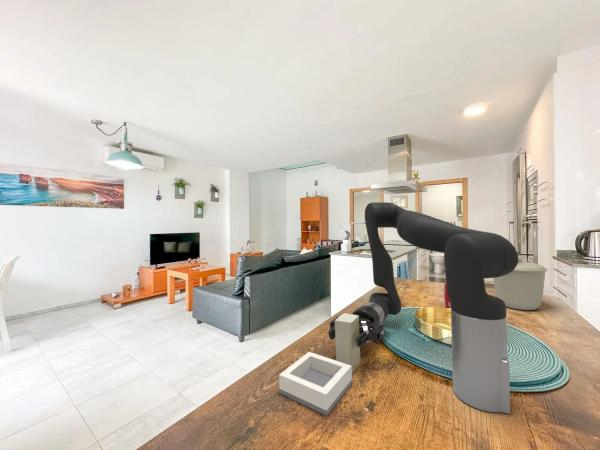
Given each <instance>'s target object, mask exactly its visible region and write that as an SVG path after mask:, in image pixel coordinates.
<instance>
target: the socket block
mask: <svg viewBox="0 0 600 450" xmlns="http://www.w3.org/2000/svg"><path fill="white" fill-rule="evenodd" d="M278 380H279V384H278V385H279V387H278V388H279V394H280V395H281V396H285V397H286V398H288V399H289V400H290V399H291V400H293V401H295V402H297V403H299V404H301V405H303V406H305V407H306V408H309V409H311V410H313V411H315V412H318V413H319V414H322V415H323V416H326V417H327V416H328V415H330V414H329V413H330V412H331V411H332V410H333V409H334V407H335V406H336V404H337V403H338V402H339V401H340V400H341V398H342V397H343V396H344V395H345V393H346V392H347V391H348V389H350V387H351V386H352V384H353V373H352V366H351V365H348V364H345V363H342V362H339V361H336V359H334V358H333V359H332V358H329V357H326V356H323V355H320V354H317V353H314V352H311V351H308V352H307V353H305V354H304V355H303V356H301V357H300V358H299V359H297V360H296V361H295V362H294V363H292V364H291V365H289V366H288V367H287V368H285V369H284V370H283V371H282V372H281V373H279V375H278Z"/></svg>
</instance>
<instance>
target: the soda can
mask: <svg viewBox="0 0 600 450" xmlns="http://www.w3.org/2000/svg"><path fill="white" fill-rule="evenodd" d="M443 289H444V291H443V296H444V308H445V309H446V308H451V302H450V299H449V296H448V293H447V287H446V281H445V283H444V284H443Z"/></svg>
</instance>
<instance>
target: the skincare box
mask: <svg viewBox="0 0 600 450" xmlns="http://www.w3.org/2000/svg"><path fill="white" fill-rule="evenodd" d="M338 316H339V317H338V318H337V319H336V320H335V338H334V339H335V340H334V341H335V360H336V361H339V362H342V363H345V364H348V365H351V366H352V374H353V373H354V372H355V371H356V369H357V368H358V366H360V364H361V347H357V342H356V339H357V337H358V336H359V316H358V315H353V314H352V313H348V312H347V313H345V312H344V313H342V314H341V315H338Z"/></svg>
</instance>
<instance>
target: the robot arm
mask: <svg viewBox="0 0 600 450" xmlns="http://www.w3.org/2000/svg"><path fill="white" fill-rule="evenodd" d="M364 223H365V230H366V235H367V239H368V244H369V248H370V253H371V262H372V275H373V277H372V279H373V285H375V286H377V287H380V288H383V289H385V290H386V292H374V293H373V292H372V293H371V295H370V297H369V300H368V302H367V303H364V304H362V305H361V306H360V307H358V308H357V309H355V310H354V311H353V312H352V313H351V314H353V315H358V316H359V336H358V337H357V339H356V342H357V347H360V348H361V347H363V346H365V345H366V344H367V343H370V341H371V342H372V343H373V344H378V343H379V341H380V340H381V339H382V338H384V336H385V326H384V325H383V322H384V321H385V320H386V319H387V317H388V316H389V315H391V316H392V315H393V316H396V315H398V314H400V312H401V311H402V310H401V309H402V302H401V299H400V295H399V293H398V290H397V289H398V288H397V286H396V283H395V273H394V272H395V271H394V263H393V260H392V257H391V255H390V253H389V251H388V249H386V247H385V245H384V244H383V242H382V240H381V238H380V235H379V229H380V228H384V229H385V228H393V229H396V233H397V234H398V236H399V238H400V239H402V240H403V241H405V242H406V243H408V244H410V245H412V246H414V247H416V248H418V249H419V248H420V249H423V250H426V251H431V252H436V253H441V254H443V255H444V256H443V261H444V262H443V263H444V271H445V272H444V273H445V282H446V287H447V293H448V296H449V299H450V302H451V312H450V321H451V322H450V327H451V328H450V329H451V334H452V338H451V359H452V360H451V362H452V363H451V364H452V366H451V367H452V370H451V371H452V377H451V378H452V391H453V392H454V395H456V397H457V398H458V399H459V400H460V401H462V402H464V403H465V404H467V405H468V406H470V407H472V408H475V409H477V410H480V411H484V412H489V413H505V414H508V415H511V393H510V392H511V390H510V388H511V387H510V363H509V362H510V361H509V357H508V330H507V329H508V328H507V327H508V325H507V323H508V322H507V307H506V304H505V302H504V301H503V300H501V299H500V298H498V297H496V295H492V294H489V293H488V292H487V290H486V284H485V279H493V278H496V277H500V276H504V275H507V274H509V273H510V272H512V271H513V270H514V269H515V268H516V266H517V264H518V256H519V253H518V251H517V249H516V247H515V246H514V245H513V243H512V242H511V241H509V240H508V239H507V238H506V237H504V236H503V235H500V234H498V233H493V232H488V231H483V230H478V229H477V230H476V229H472V228H465V227H463V226H459V225H456V224H453V223H451V222H448V221H445V220H443V219H439V218H437V217H433V216H431V215H428V214H424V213H421V212H419V211H413V210H408V209H405V208H403V207H401V206H399V205H397V204H395V203H393V202H384V201H383V202H382V201H381V202H376V201H375V202H369V203H367V205H366V206H365V209H364ZM339 316H340V315H338V316H336V317H335V318H334V319H332V320H331V321H330V322H329V330H328V337H329V340H334V339H335V320H336V319H337V318H338V317H339Z"/></svg>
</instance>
